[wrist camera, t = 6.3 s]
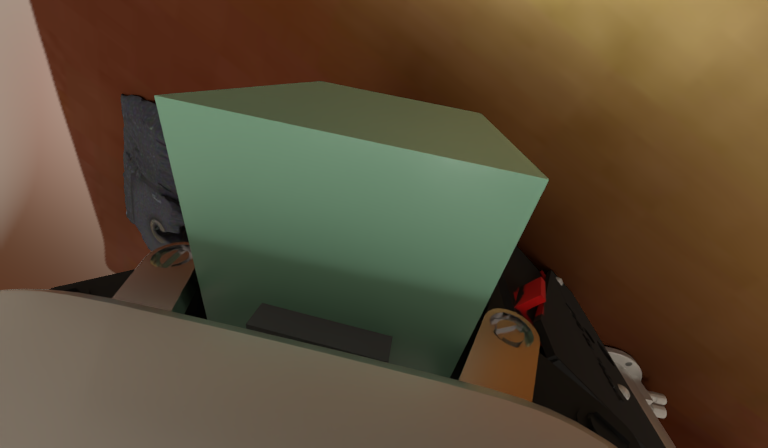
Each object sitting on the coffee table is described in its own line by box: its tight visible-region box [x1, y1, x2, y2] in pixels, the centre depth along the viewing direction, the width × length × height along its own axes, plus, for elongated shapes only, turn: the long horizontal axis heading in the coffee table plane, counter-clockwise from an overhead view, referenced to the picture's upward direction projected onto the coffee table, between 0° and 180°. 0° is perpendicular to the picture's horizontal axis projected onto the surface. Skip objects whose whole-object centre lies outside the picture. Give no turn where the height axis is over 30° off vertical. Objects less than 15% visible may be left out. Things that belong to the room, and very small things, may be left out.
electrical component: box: [450, 246, 666, 448], centre depth 27 cm, size 18×10×20 cm, turn 46°
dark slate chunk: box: [121, 94, 189, 251], centre depth 36 cm, size 15×22×5 cm
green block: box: [154, 81, 549, 378], centre depth 9 cm, size 6×10×8 cm, turn 171°
